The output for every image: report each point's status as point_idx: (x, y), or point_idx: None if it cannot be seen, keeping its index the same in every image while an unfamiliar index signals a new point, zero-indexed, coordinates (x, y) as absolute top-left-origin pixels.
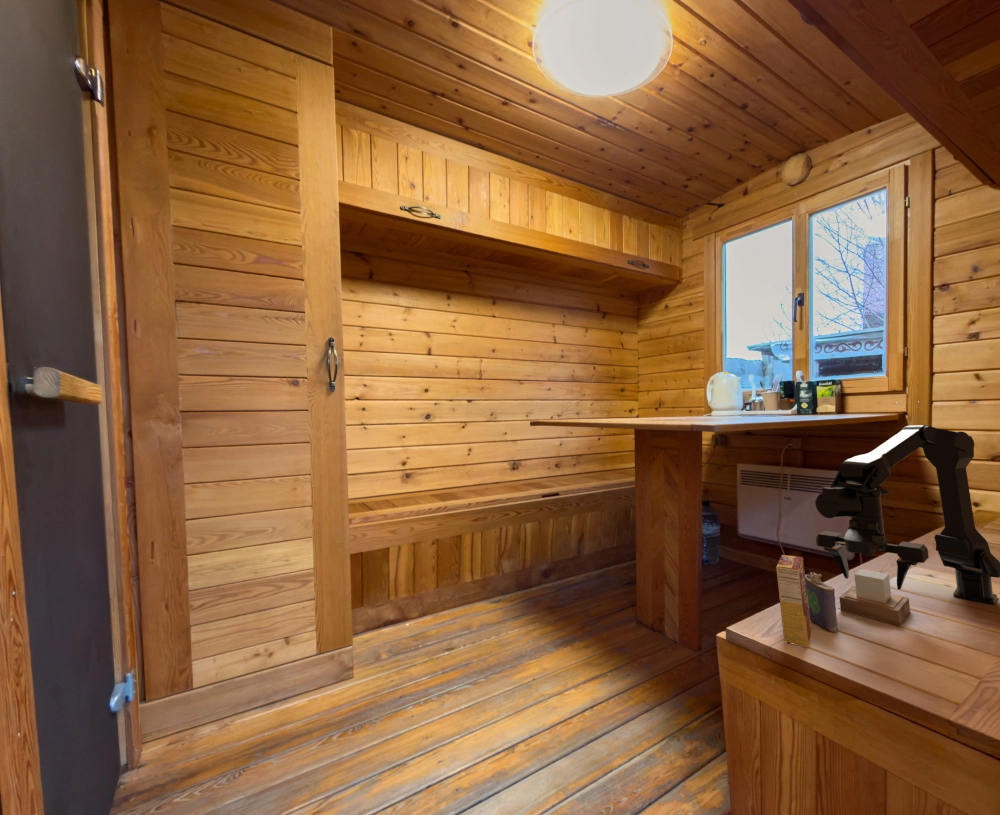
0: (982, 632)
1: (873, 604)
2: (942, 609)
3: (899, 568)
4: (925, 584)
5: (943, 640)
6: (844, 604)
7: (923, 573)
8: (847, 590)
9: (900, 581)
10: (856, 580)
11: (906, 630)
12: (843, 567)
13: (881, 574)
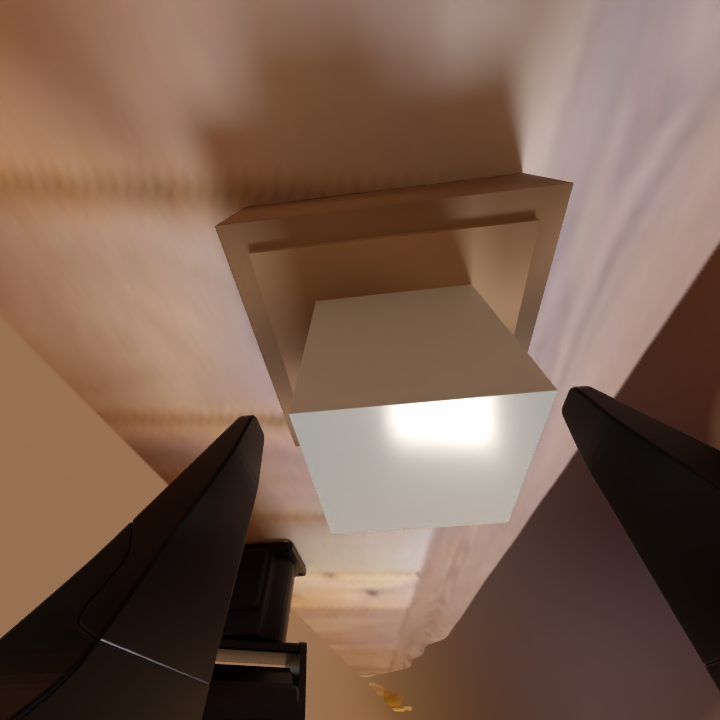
0: (95, 389)
1: (358, 228)
2: (262, 471)
3: (77, 632)
4: (360, 562)
5: (41, 175)
6: (519, 180)
7: (384, 594)
8: None
9: (196, 466)
10: (511, 349)
11: (191, 161)
12: (683, 456)
13: (363, 508)
